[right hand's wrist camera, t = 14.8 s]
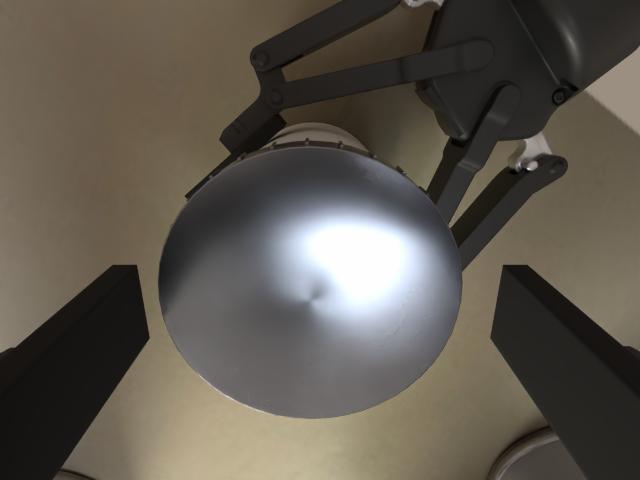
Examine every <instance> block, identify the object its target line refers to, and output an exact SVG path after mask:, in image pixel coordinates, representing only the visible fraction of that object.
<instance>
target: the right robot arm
mask: <svg viewBox="0 0 640 480" xmlns="http://www.w3.org/2000/svg"><path fill="white" fill-rule="evenodd" d="M149 338H150V337H149V331H148V326H147V320H146V314H145V309H144V303H143V297H142V291H141V286H140V280H139V274H138V269H137V265H112V266H111V267H110V268H109V269H107V270H106V271H105V272H104V273H103V274H102V275H100V276H99V277H98V278H97V279H96V280H94V281H93V282H92V283H91V284H90V285H89V286H87V287H86V288H85V289H84V290H83V291H81V292H80V293H79V294H78V295H77V296H76V297H74V298H73V299H72V300H71V301H70V302H69V303H67V304H66V305H65V306H64V307H63V308H61V309H60V310H59V311H58V312H57V313H56V314H54V315H53V316H52V317H51V318H50V319H48V320H47V321H46V322H45V323H44V324H43V325H41V326H40V327H39V328H38V329H37V330H35V331H34V332H33V333H32V334H31V335H30V336H28V337H27V338H26V339H25V340H24V341H22V342H21V343H20V344H19V345H18V346H17V347H15V348H9V349H7V350H5V351H3V352H2V353H0V480H89V479H87V478H84V477H81V476H79V475H75V474H72V473H67V472H62V471H59V470H60V468H61V467H62V466H63V464H64V463H65V461H66V460H67V458H68V457H69V455H70V454H71V452H72V451H73V449H74V448H75V447H76V445H77V444H78V442H79V441H80V439H81V438H82V436H83V435H84V433H85V432H86V430H87V429H88V428H89V426H90V425H91V423H92V422H93V420H94V419H95V417H96V416H97V414H98V413H99V411H100V410H101V409H102V407H103V406H104V404H105V403H106V401H107V400H108V398H109V397H110V395H111V394H112V392H113V391H114V390H115V388H116V387H117V385H118V384H119V382H120V381H121V379H122V378H123V376H124V375H125V373H126V372H127V371H128V369H129V368H130V366H131V365H132V363H133V362H134V360H135V359H136V357H137V356H138V354H139V353H140V352H141V350H142V349H143V347H144V346H145V344H146V343H147V341H148V340H149ZM490 338H491V340H492V341H493V343H494V344H495V346H496V347H497V349H498V350H499V352H500V353H501V354H502V356H503V357H504V359H505V360H506V362H507V363H508V365H509V366H510V368H511V369H512V371H513V372H514V373H515V375H516V376H517V378H518V379H519V381H520V382H521V384H522V385H523V387H524V388H525V390H526V391H527V392H528V394H529V395H530V397H531V398H532V400H533V401H534V403H535V404H536V406H537V407H538V409H539V410H540V411H541V413H542V414H543V416H544V417H545V419H546V420H547V422H548V423H549V425H550V426H551V428H552V429H553V430H554V432H555V433H556V435H557V436H558V438H559V439H560V441H561V442H562V444H563V445H564V447H565V448H566V449H567V451H568V452H569V454H570V455H571V457H572V458H573V460H574V461H575V463H576V464H577V466H578V467H579V468H580V470H581V471H582V473H583V474H584V476H585V477H586V479H587V480H640V351H638V350H636V349H634V348H632V347H630V346H622V345H621V344H620V343H619V342H618V341H616V340H615V339H614V338H613V337H612V336H610V335H609V334H608V333H607V332H606V331H605V330H603V329H602V328H601V327H600V326H599V325H597V324H596V323H595V322H594V321H593V320H592V319H590V318H589V317H588V316H587V315H586V314H584V313H583V312H582V311H581V310H580V309H579V308H577V307H576V306H575V305H574V304H573V303H571V302H570V301H569V300H568V299H567V298H566V297H564V296H563V295H562V294H561V293H560V292H559V291H557V290H556V289H555V288H554V287H553V286H551V285H550V284H549V283H548V282H547V281H546V280H544V279H543V278H542V277H541V276H540V275H538V274H537V273H536V272H535V271H534V270H533V269H531V268H530V267H529V266H528V265H503V269H502V274H501V280H500V286H499V291H498V297H497V303H496V309H495V314H494V320H493V326H492V331H491V337H490Z"/></svg>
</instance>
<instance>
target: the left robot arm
mask: <svg viewBox="0 0 640 480" xmlns="http://www.w3.org/2000/svg"><path fill="white" fill-rule="evenodd" d="M399 4H400V5H401V6H402V7H403V8H404V9H406V10H408V11H413V10H416V9H417V8H419V7H421V6H424V5H428V6H431V7H432V8H433V9H434V10H435V11H434V14H433V17H432V21H431V24H430V27H429V30H428V34H427V37H426V40H425V43H424V47H423V50H422V53H418V54H414V55H409V56H405V57H401V58H397V59H392V60H388V61H383V62H379V63H374V64H369V65H365V66H360V67H355V68H351V69H346V70H342V71H337V72H332V73H328V74H323V75H318V76H314V77H309V78H305V79H300V80H295V81H291V82H286V80H285V78H284V75H283V72H282V69H281V68H283V67H285V66H287V65H289V64H291V63H293V62H295V61H297V60H299V59H301V58H303V57H305V56H307V55H308V54H310V53H312V52H314V51H316V50H318V49H320V48H322V47H324V46H326V45H328V44H330V43H332V42H334V41H336V40H338V39H340V38H342V37H343V36H345V35H347V34H349V33H351V32H353V31H355V30H357V29H359V28H361V27H363V26H365V25H367V24H369V23H371V22H373V21H375V20H377V19H378V18H380V17H382V16H384V15H385V14H387V13H389V12H390V11H391V10H393V9H394V8H395V7H396V6H398V5H399ZM639 46H640V0H343V1H341V2H339V3H337V4H335V5H333V6H331V7H329V8H328V9H326V10H324V11H322V12H320V13H318V14H316V15H314V16H312V17H310V18H309V19H307V20H305V21H303V22H301V23H299V24H297V25H295V26H293V27H292V28H290V29H288V30H286V31H284V32H282V33H280V34H278V35H276V36H274V37H273V38H271V39H269V40H267V41H265V42H263V43H261V44H259V45H257V46H256V47H255V48H253V49H252V51H251V53H250V61H251V64H252V66H253V67H254V69H255V72H256V75H257V77H258V80H259V82H260V86H261V91H260V95H259V97H258V99H257V100H256V101H255V102H254V103H253V104H252V105H251V106H250V107H248V108H247V109H246V110H245V111H244V112H243V113H242V114H241V115H240V116H239V117H238V118H237V119H235V120H234V121H233V122H232V123H231V124H230V125H229V126H228V127H227V128H226V129H225V130H224V131H223V133H222V135H221V137H220V139H219V140H220V141H221V142H222V144H223V145H224V146H225V147H226V148H227V149H228V150H229V151H230V152H231V155H230V156H229V157H227V158H226V159H225V160H224V161H223V162H222V163H221V164H220V165H219V166H217V167H216V168H215V169H214V170H213V171H212V172H211V173H210V174H208V175H207V176H206V177H205V178H204V179H203V180H202V181H201V182H200V183H198V184H197V185H196V186H195V187H194V188H193V189H192V190H191V191H190V192H188V193H187V194H186V195H185V197H186V198H187V199H188V198H189V197H190V196H191V195H192V194H194V193H195V192H196V191H198V190H199V189H200V188H201V187H202V186H203V185H204V184H205V183H206V182H208V181H209V180H210V178H209V176H211V175H212V174H213V173H214V172H216V171H217V170H218V169H219V170H220V171H221V170H223V169H224V168H225V167H227V166H228V165H230V164H231V163H233V162H234V161H236V160H237V158H238V157H240V156H241V155H242V154H243V153H246V154H249V153H251V152H254V151H257V150H259V149H260V148H261V147H262V146H263V145H265V144H266V143H267V142H268V141H269V140H270V139H271V138H272V137H274V136H275V135H276V134H277V133H278V132H279V131H280V130H281V129H283V128H284V127H285V126H286V124H287V123H286V121H285V120H284V119H283V118H282V117H281V115H280V114H279V113H280V112H281V111H282V110H283V109H286V108H291V107H296V106H301V105H305V104H310V103H315V102H319V101H324V100H329V99H334V98H338V97H343V96H348V95H352V94H357V93H362V92H367V91H371V90H376V89H381V88H385V87H390V86H395V85H400V84H405V83H410V82H415V83H416V88H417V89H416V90H415V92H416V93H417V94H418V96H419V97H420V99H421V100H422V101H423V102H424V103H425V104H426V105H427V106H429V107H430V108H431V109H432V110H433V111H434V113H435V116H436V119H437V121H438V124H439V126H440V127H441V129H442V130H443V131H444V133H445V134H446V135H448V136H450V138H449V140H448V142H447V144H446V146H445V148H444V151H443V158H442V160H441V162H440V164H439V166H438V168H437V170H436V172H435V174H434V176H433V178H432V180H431V182H430V184H429V186H428V188H427V190H426V192H427V193H429V195H430V196H429V198H430V199H431V201H432V202H433V203H434V204H435V206H436V207H437V208H438V209H439V211H440V212H441V214H442V215H443V217H444V218H445V219H446V220H447V224H449V222H450V221H451V219H452V217H453V215H454V213H455V211H456V209H457V207H458V206H459V204H460V202H461V200H462V198H463V196H464V194H465V192H466V191H467V189H468V187H469V185H470V183H471V181H472V179H473V177H474V175H475V174H476V173H477V172H478V171H479V170H481V169H482V168H483V167H484V165H485V163H486V161H487V160H488V158H489V156H490V154H491V152H492V150H493V148H494V147H495V145H496V143H497V141H509V140H518V147H517V149H516V151H515V152H514V153H513V154H512V155H510V156H509V158H508V166H507V167H506V168H504V169H503V170H502V171H501V172H500V173H499V174H498V175H497V176H496V177H495V178H494V179H493V180H492V181H491V182H490V183H489V184H488V186H487V187H486V188H485V189H484V190H483V191H482V193H481V194H480V195H479V196H478V197H477V198H476V199H475V201H474V202H473V203H472V204H471V205H470V206H469V208H468V209H467V210H466V211H465V212H464V213H463V215H462V216H461V217H460V218H459V219H458V220H457V221H456V223H455V224H454V225H453V226H452V227H451V228H450V230H451V232H452V235H453V237H454V240H455V243H456V245H457V248H458V253H459V257H460V262H461V270H462V271H463V270H464V269H465V268H466V267H467V266H468V265H469V264H470V262H471V261H472V260H473V259H474V258H475V257H476V256H477V255H478V254H479V253H480V251H481V250H482V249H483V248H484V247H485V246H486V245H487V244H488V243H489V242H490V240H491V239H492V238H493V237H494V236H495V235H496V234H497V233H498V232H499V231H500V229H501V228H502V227H503V226H504V225H505V224H506V223H507V222H508V221H509V220H510V218H511V217H512V216H513V215H514V214H515V213H516V212H517V211H518V210H519V209H520V207H521V206H522V205H523V204H524V203H525V202H526V201H527V200H528V199H529V197H530V196H531V195H532V194H534V193H535V192H537V191H539V190H540V189H542V188H544V187H545V186H547V185H549V184H550V183H552V182H553V181H555V180H557V179H558V178H560V177H562V176H563V175H564V174H565V172H566V171H567V167H568V164H567V161H566V160H565V158H562V157H560V156H556V155H554V154H553V153H552V151H551V148H550V146H549V144H548V142H547V140H546V138H545V136H544V134H543V132H542V130H543V128H544V127H545V125H546V124H547V122H548V120H549V118H550V117H551V115H552V114H553V112H554V111H555V110H556V109H557V108H558V107H559V106H561V105H562V104H564V103H565V102H567V101H568V100H570V99H571V98H573V97H574V96H576V95H577V94H579V93H580V92H581V91H583V90H584V89H585V88H587V87H588V86H589V85H591V84H592V83H593V82H595V81H596V80H597V79H599V78H600V77H601V76H603V75H604V74H605V73H606V72H608V71H609V70H610V69H612V68H613V67H614V66H616V65H617V64H618V63H620V62H621V61H622V60H624V59H625V58H626V57H628V56H629V55H630V54H632V53H633V52H634V51H635V50H636V49H637V48H638V47H639ZM487 480H587V479H586V477H585V476H584V474H583V473H582V471H581V470H580V468H579V467H578V466H577V464H576V463H575V461H574V460H573V458H572V457H571V455H570V454H569V452H568V451H567V449H566V448H565V447H564V445H563V444H562V442H561V441H560V439H559V438H558V436H557V435H556V433H555V432H554V430H553V429H552V428H551V427H549V428H546V429H543V430H540V431H537V432H535V433H533V434H531V435H529V436H527V437H525V438H523V439H522V440H520V441H518V442H517V443H515V444H514V445H513V446H511V447H510V448H509V449H508V450H507V451H506V452H504V454H503V455H502V456H501V457H500V458H499V459H498V460H497V461H496V463H495V464H494V466H493V467H492V469H491V471H490V473H489V475H488V478H487Z"/></svg>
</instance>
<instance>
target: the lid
mask: <svg viewBox="0 0 640 480" xmlns="http://www.w3.org/2000/svg"><path fill="white" fill-rule="evenodd" d="M209 178H210V180H209V181H208V182H206V183H205V184H204V185H203V186H202V187H201V188H200V189H199V190H198V191H196V192H195V193H194V194H192V195H191V196H190V197H189V198H188V199H187V200H186V201H187V203H186V204H185V206H184V207H183V208H182V209H181V211H180V212H179V214H178V216H177V217H176V219H175V221H174V223H173V224H172V225H171V228H170V230H169V233H168V235H167V238H166V240H165V243H164V246H163V250H162V254H161V259H160V263H159V274H158V290H159V301H160V306H161V310H162V315H163V318H164V321H165V324H166V327H167V329H168V332H169V334H170V336H171V338H172V340H173V342H174V344H175V345H176V347H177V349H178V351H179V352H180V353H181V355H182V356H183V358H184V359H185V360H186V362H187V363H188V364H189V365H190V366H191V367H192V368H193V370H194V371H195V372H196V373H197V374H198V375H199V376H200V377H201V378H202V379H204V380H205V381H206V382H207V383H208V384H210V385H211V386H212V387H213V388H215V389H216V390H218V391H219V392H221V393H222V394H224V395H225V396H227V397H229V398H231V399H233V400H235V401H237V402H238V403H240V404H242V405H245V406H248V407H250V408H253V409H255V410H258V411H261V412H265V413H269V414H273V415H277V416H283V417H290V418H303V419H318V418H331V417H337V416H344V415H348V414H352V413H356V412H359V411H363V410H366V409H368V408H371V407H373V406H376V405H378V404H380V403H382V402H384V401H386V400H388V399H390V398H392V397H394V396H396V395H397V394H399V393H400V392H402V391H403V390H405V389H406V388H407V387H409V386H410V385H411V384H412V383H414V382H415V381H416V380H417V379H418V378H419V377H421V376H422V375H423V374H424V373H425V371H426V370H427V369H428V368H429V367H430V366H431V365H432V364H433V363H434V361H435V360H436V358H437V357H438V356H439V354H440V353H441V351H442V350H443V349H444V347H445V345H446V343H447V341H448V339H449V337H450V335H451V333H452V331H453V328H454V325H455V323H456V320H457V317H458V312H459V308H460V303H461V296H462V270H461V262H460V257H459V253H458V248H457V245H456V243H455V240H454V237H453V235H452V232H451V230H450V228H449V226H448V224H447V220H446V219H445V218H444V217H443V215H442V214H441V212H440V211H439V209H438V208H437V207H436V206H435V204H434V203H433V202H432V201H431V199H430V198H429V196H430V195H429V193H427V192H426V191H425V190H424V189H423V188H422V187H421V186H420V187H418V186H417V185H416V184H415V183H414V182H413V181H412V180H410V179H409V178H408V177H407V176H406V172H405V171H404V170H402V169H401V168H400V167H399V166H397V167H394V166H393V165H391V164H390V163H389V162H387V161H385V160H383V159H381V158H379V157H377V155H376V154H375V153H374V152H373V151H371V150H370V151H369V152H367V151H364V150H361V149H358V148H356V147H353V146H349V145H344V144H343V143H342V141H339V142H338V143H335V142H328V141H314V140H309V138H306V140H305V141H291V142H286V143H281V144H277V142H273V144H272V145H271V146H268V147H265V148H262V149H260V150H257V151H254V152H251V153H249V154H246V153H243V154H242V155H241V156H240V157H238V158H237V160H236V161H234V162H233V163H231V164H230V165H228V166H227V167H225V168H224V169H223V170H221V171H220V170H219V169H218V170H217V171H216V172H214V173H213V174H212V175H211V176H209Z"/></svg>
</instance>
